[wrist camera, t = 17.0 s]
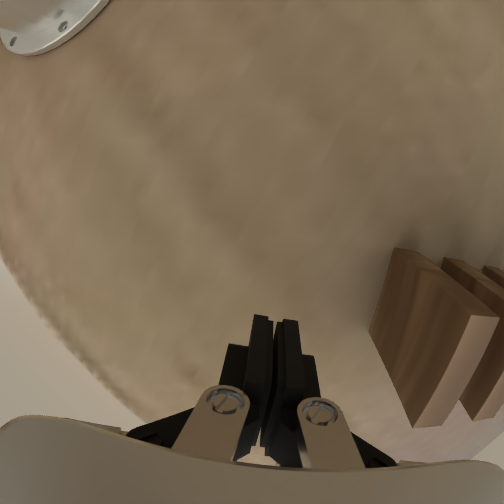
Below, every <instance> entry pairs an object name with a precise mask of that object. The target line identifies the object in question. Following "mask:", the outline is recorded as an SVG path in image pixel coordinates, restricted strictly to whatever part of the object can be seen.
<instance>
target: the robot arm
mask: <svg viewBox="0 0 504 504" xmlns="http://www.w3.org/2000/svg"><path fill="white" fill-rule="evenodd" d="M108 2H109V0H0V36H1V39H2V42H3V44H4V46H5V47H6V48H7V49H8V50H9V51H11V52H13V53H16V54H20V55H23V56H34V55H38V54H42V53H45V52H47V51H49V50H52V49H54V48H56V47H58V46H59V45H61V44H62V43H64V42H66V41H67V40H69V39H70V38H71V37H73V36H74V35H75V34H76V33H78V32H79V31H80V30H82V29H83V28H84V27H85V26H86V25H87V24H88V23H89V22H90V21H91V20H92V19H94V18H95V16H96V15H97V14H98V13H99V12H100V11H101V10H102V9H103V8H104V7H105V6H106V4H107V3H108ZM260 428H261V435H260V447H265V456H270V457H271V458H273V459H274V460H275V461H276V466H269V465H260V464H251V463H244V462H237V460H238V459H240V458H241V457H243V456H245V455H247V454H249V453H250V450H251V446H255V445H256V442H257V438H258V435H259V431H260ZM0 504H504V470H503V469H502V468H501V467H499V466H498V465H495V464H492V463H489V462H484V461H477V460H453V461H443V462H434V463H424V462H412V461H402V460H400V461H399V463H396V462H395V461H394V460H393V459H392V458H391V457H389V456H388V455H386V454H385V453H383V452H381V451H380V450H378V449H377V448H375V447H373V446H372V445H370V444H369V443H367V442H366V441H364V440H363V439H361V438H359V437H358V436H356V435H355V434H353V433H352V432H350V429H349V427H348V425H347V422H346V420H345V417H344V415H343V413H342V411H341V409H340V408H339V406H337V405H336V404H335V403H334V402H332V401H330V400H328V399H325V398H321V395H320V389H319V383H318V377H317V371H316V365H315V359H314V356H312V355H303V354H302V351H301V343H300V334H299V326H298V321H295V320H288V319H283V321H282V322H277V325H276V329H275V334H274V338H273V321H270V320H268V316H262V315H256V314H254V318H253V324H252V330H251V335H250V341H249V346H242V345H236V344H230V343H229V345H228V349H227V353H226V357H225V361H224V365H223V369H222V373H221V377H220V381H219V385H217V386H213V387H210V388H208V389H206V390H205V391H204V392H203V394H202V395H201V397H200V399H199V401H198V402H197V404H196V406H195V407H194V408H191V409H189V410H186V411H183V412H180V413H178V414H175V415H172V416H169V417H166V418H163V419H161V420H158V421H155V422H152V423H149V424H145V425H142V426H139V427H136V428H134V429H132V430H130V431H129V432H125V431H121V428H120V427H113V426H106V425H101V424H94V423H89V422H84V421H78V420H74V419H69V418H59V417H53V416H43V415H25V416H20V417H17V418H14V419H12V420H10V421H9V422H7V423H6V424H4V425H3V426H2V427H1V428H0Z"/></svg>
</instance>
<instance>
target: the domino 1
mask: <svg viewBox="0 0 504 504" xmlns="http://www.w3.org/2000/svg"><path fill="white" fill-rule="evenodd" d="M499 319H500V317H499V316H498V315H496V314H495V313H494V312H493V311H492V310H491V309H489V308H488V307H487V306H486V305H485V304H484V303H482V302H481V301H480V300H479V299H478V298H476V297H475V296H474V295H473V294H472V293H470V292H469V291H468V290H467V289H465V288H464V287H463V286H462V285H460V284H459V283H458V282H457V281H455V280H454V279H453V278H452V277H450V276H449V275H448V274H446V273H445V272H444V271H443V270H441V269H440V268H439V267H437V266H436V265H435V264H433V263H432V262H431V261H429V260H428V259H427V258H425V257H424V256H423V255H421V254H420V253H419V252H415V251H409V250H404V249H399V248H394V250H393V254H392V258H391V262H390V265H389V269H388V272H387V276H386V279H385V283H384V286H383V290H382V293H381V296H380V299H379V303H378V306H377V309H376V312H375V315H374V318H373V321H372V324H371V327H370V330H369V334H370V336H371V338H372V340H373V342H374V344H375V346H376V348H377V350H378V352H379V354H380V356H381V358H382V361H383V363H384V365H385V367H386V369H387V371H388V374H389V376H390V378H391V380H392V382H393V385H394V387H395V389H396V391H397V393H398V396H399V398H400V400H401V403H402V405H403V407H404V409H405V412H406V414H407V417H408V419H409V421H410V424H411V426H412V428H422V427H433V426H442V424H443V423H444V421H445V420H446V418H447V417H448V415H449V414H450V412H451V411H452V409H453V408H454V406H455V404H456V403H457V401H458V400H459V398H460V396H461V395H462V393H463V391H464V390H465V388H466V386H467V384H468V383H469V381H470V379H471V377H472V375H473V373H474V372H475V370H476V368H477V366H478V364H479V362H480V360H481V358H482V356H483V354H484V352H485V350H486V348H487V346H488V344H489V342H490V339H491V337H492V335H493V333H494V331H495V328H496V326H497V324H498V321H499Z"/></svg>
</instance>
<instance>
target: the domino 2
mask: <svg viewBox="0 0 504 504" xmlns="http://www.w3.org/2000/svg"><path fill="white" fill-rule="evenodd" d="M441 270H443V271H444V272H445V273H446V274H448V275H449V276H450V277H452V278H453V279H454V280H455V281H457V282H458V283H459V284H460V285H462V286H463V287H464V288H465V289H467V290H468V291H469V292H470V293H472V294H473V295H474V296H475V297H476V298H478V299H479V300H480V301H481V302H482V303H484V304H485V305H486V306H487V307H488V308H489V309H491V310H492V311H493V312H494V313H495V314H496V315H498V316H499V317H500V319H499V321H498V324H497V326H496V328H495V331H494V333H493V335H492V337H491V339H490V342H489V344H488V346H487V348H486V350H485V352H484V354H483V356H482V358H481V360H480V362H479V364H478V366H477V368H476V370H475V372H474V373H473V375H472V377H471V379H470V381H469V383H468V384H467V386H466V388H465V390H464V391H463V393H462V395H461V396H460V398H459V400H460V401H461V403H462V405H463V406H464V408H465V410H466V411H467V413H468V415H469V416H470V418H471V420H472V421H477V420H482V419H488V418H493V417H494V416H495V415H496V413H497V412H498V410H499V409H500V407H501V406H502V404H503V403H504V288H502V287H501V286H499V285H498V284H497V283H495V282H494V281H492V280H491V279H489V278H488V277H486V276H485V275H484V274H482V273H481V272H479V271H478V270H476V269H475V268H473V267H472V266H470V265H468V264H467V263H465V262H464V261H460V260H455V259H450V258H445V257H444V260H443V264H442V267H441Z"/></svg>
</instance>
